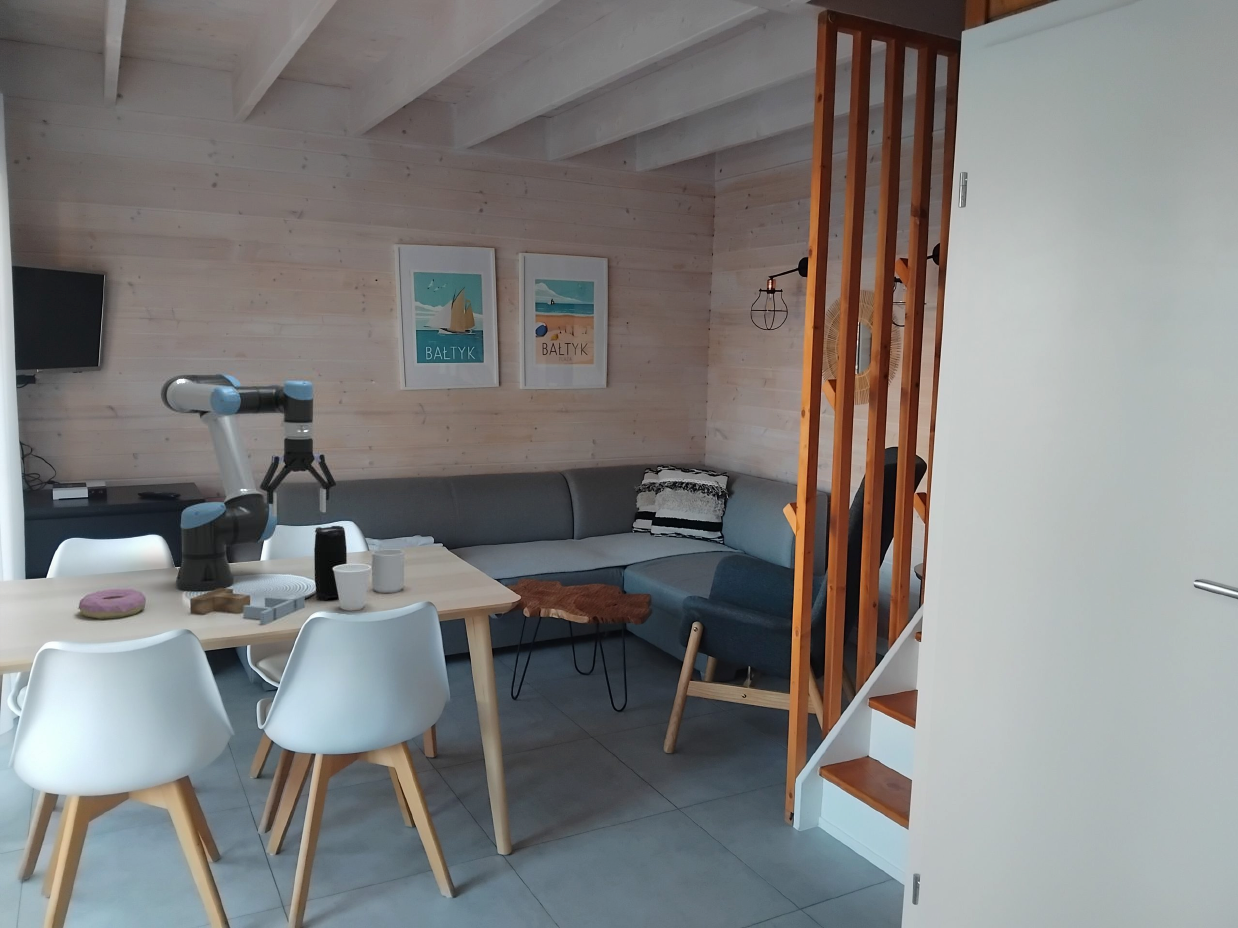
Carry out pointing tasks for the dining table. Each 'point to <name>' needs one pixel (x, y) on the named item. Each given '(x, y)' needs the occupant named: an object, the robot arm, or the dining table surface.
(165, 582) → the dining table surface
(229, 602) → the t block
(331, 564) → the portable speaker
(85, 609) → the donut
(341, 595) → the cup
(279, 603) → the slot jig
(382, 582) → the mug
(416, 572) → the dining table surface
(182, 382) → the robot arm
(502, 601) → the dining table surface
